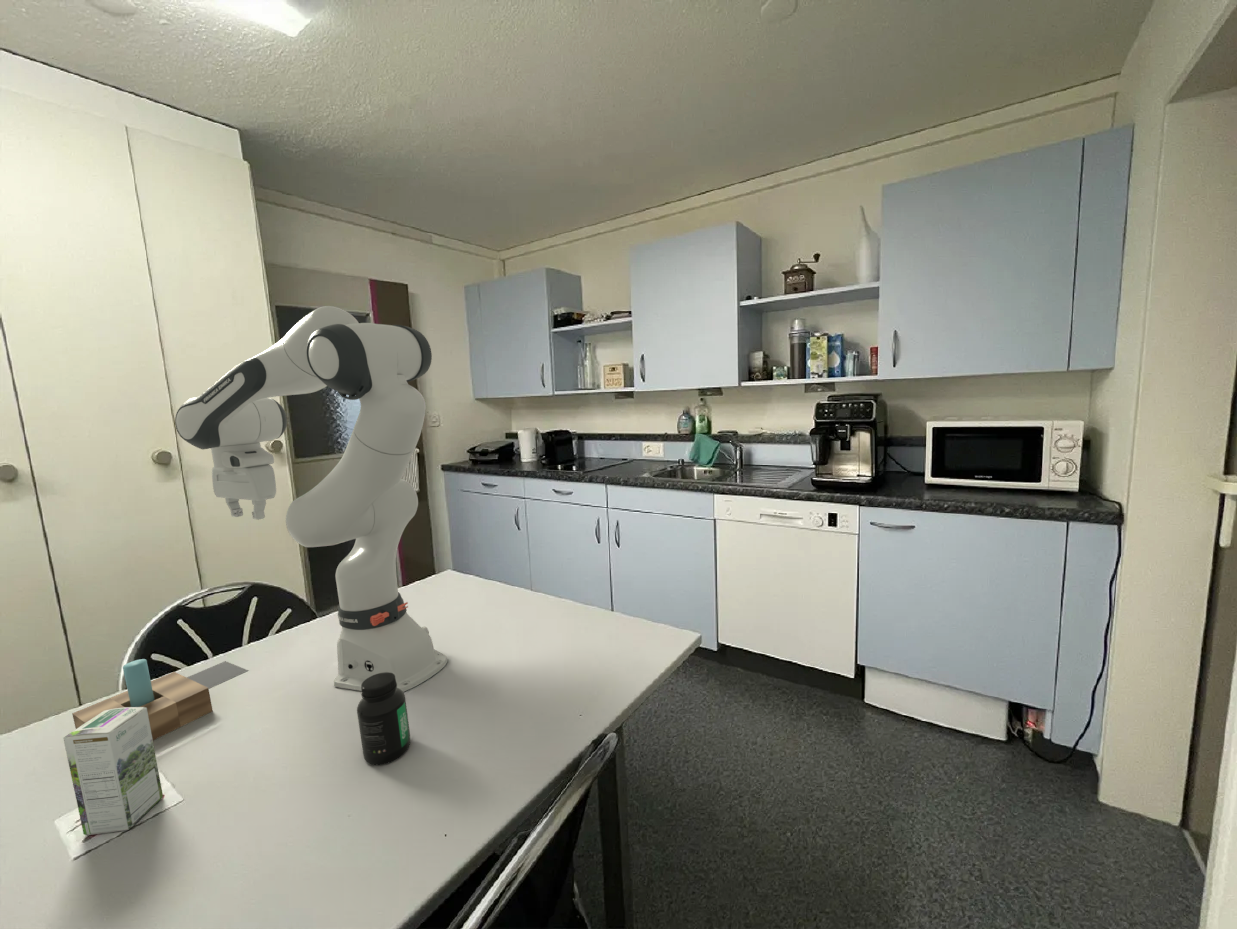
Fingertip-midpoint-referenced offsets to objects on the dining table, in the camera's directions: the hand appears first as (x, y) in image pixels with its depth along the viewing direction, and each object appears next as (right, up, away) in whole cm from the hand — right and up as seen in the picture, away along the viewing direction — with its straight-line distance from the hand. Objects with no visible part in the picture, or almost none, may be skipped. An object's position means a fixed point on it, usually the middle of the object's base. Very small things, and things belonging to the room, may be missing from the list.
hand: (248, 517), depth 112 cm
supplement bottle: (+48, -33, -34) cm, 68 cm away
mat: (-1, -33, -9) cm, 34 cm away
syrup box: (+16, -37, -44) cm, 60 cm away
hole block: (0, -35, -24) cm, 42 cm away
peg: (0, -35, -24) cm, 42 cm away
